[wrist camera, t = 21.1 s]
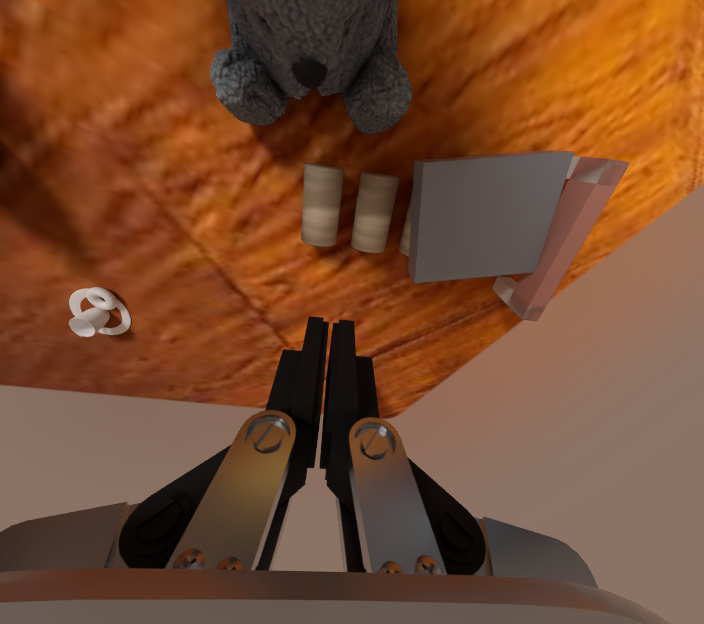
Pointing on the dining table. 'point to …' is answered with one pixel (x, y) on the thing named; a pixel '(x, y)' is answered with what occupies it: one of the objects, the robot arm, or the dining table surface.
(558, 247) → the pink u-shaped frame
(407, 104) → the koala plush
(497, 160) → the slab
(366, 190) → the track
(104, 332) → the white looped ring piece
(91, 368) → the dining table surface
